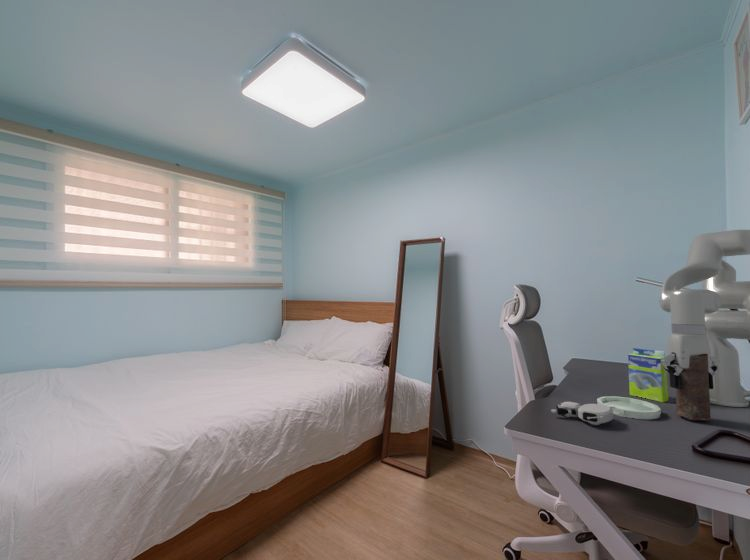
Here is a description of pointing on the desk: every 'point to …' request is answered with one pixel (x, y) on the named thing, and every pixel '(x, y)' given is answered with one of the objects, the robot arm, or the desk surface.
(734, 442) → the desk surface
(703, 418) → the rusty brown cylinder
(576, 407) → the robot toy
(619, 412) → the dish
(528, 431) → the desk surface
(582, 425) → the desk surface
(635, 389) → the box
